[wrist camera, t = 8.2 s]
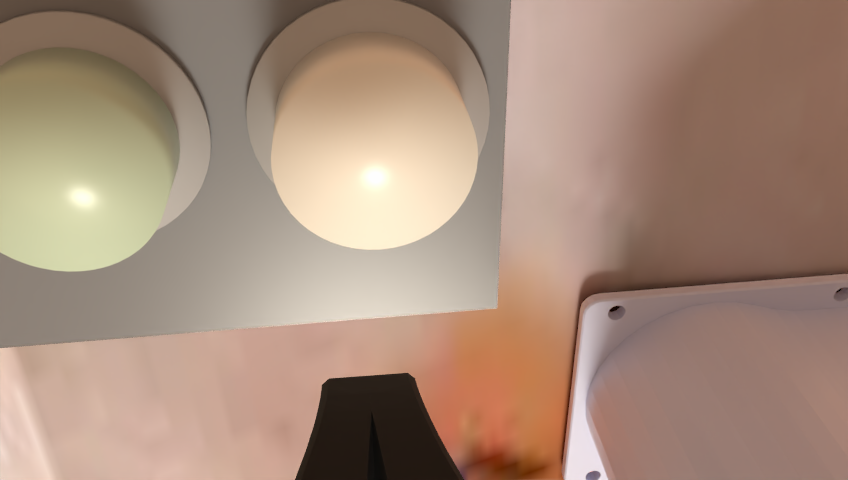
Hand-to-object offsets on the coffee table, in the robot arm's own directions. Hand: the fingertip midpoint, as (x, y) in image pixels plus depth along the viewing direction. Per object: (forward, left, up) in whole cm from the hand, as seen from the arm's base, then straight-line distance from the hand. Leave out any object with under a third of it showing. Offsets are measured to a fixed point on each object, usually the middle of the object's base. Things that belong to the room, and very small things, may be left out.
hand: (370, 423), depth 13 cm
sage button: (+6, -2, -7) cm, 9 cm away
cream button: (0, -2, -7) cm, 7 cm away
